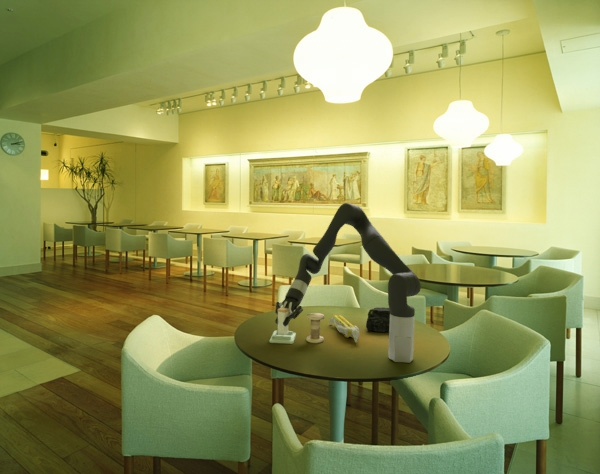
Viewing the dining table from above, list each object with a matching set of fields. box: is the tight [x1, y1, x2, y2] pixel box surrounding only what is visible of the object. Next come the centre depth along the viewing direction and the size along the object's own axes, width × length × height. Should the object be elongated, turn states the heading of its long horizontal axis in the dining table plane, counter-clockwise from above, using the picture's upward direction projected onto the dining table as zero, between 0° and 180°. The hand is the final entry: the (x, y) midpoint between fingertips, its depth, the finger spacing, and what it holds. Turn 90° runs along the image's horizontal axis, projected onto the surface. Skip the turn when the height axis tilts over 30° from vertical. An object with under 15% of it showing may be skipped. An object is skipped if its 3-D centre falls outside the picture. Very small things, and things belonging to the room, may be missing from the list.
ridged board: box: [269, 329, 297, 345], centre depth 182 cm, size 12×10×2 cm
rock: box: [365, 307, 390, 333], centre depth 200 cm, size 18×10×15 cm
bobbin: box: [305, 312, 325, 344], centre depth 181 cm, size 8×8×11 cm
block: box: [277, 307, 290, 335], centre depth 182 cm, size 4×4×11 cm
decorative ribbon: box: [329, 314, 360, 343], centre depth 192 cm, size 8×6×30 cm
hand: (280, 324), depth 180 cm, fingers closed on block, 3 cm apart
